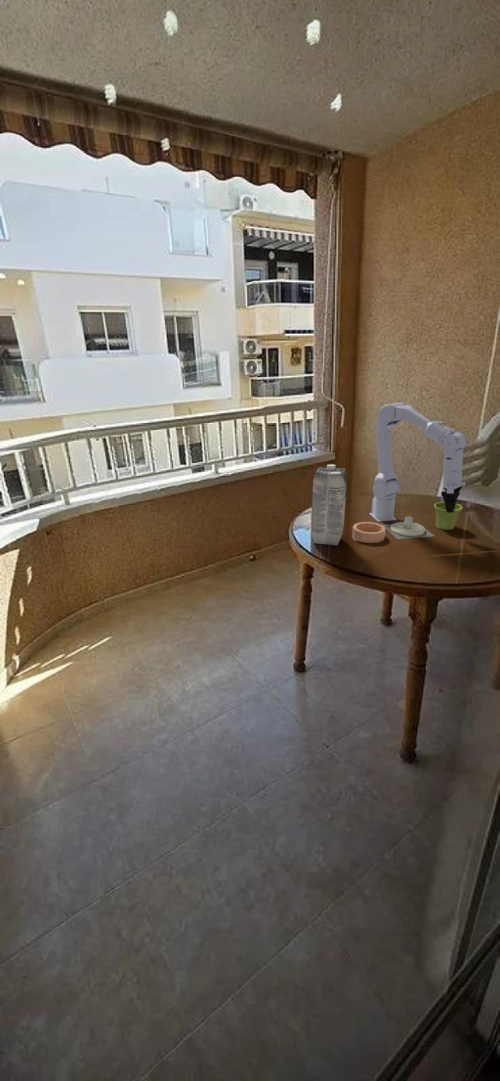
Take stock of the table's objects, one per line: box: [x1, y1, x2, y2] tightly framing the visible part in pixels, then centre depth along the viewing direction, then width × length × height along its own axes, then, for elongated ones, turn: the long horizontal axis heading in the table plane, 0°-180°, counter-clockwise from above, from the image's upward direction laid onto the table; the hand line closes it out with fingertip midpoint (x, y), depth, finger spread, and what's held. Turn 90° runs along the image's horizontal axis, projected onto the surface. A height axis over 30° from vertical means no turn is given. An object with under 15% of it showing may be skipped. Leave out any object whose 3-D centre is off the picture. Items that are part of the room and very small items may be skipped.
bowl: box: [351, 521, 387, 544], centre depth 155 cm, size 11×11×4 cm
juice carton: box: [311, 464, 347, 546], centre depth 149 cm, size 9×10×27 cm
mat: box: [382, 521, 435, 540], centre depth 160 cm, size 14×14×1 cm
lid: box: [390, 515, 426, 537], centre depth 159 cm, size 12×12×5 cm
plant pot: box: [433, 501, 463, 531], centre depth 161 cm, size 9×9×9 cm
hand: (450, 509), depth 150 cm, fingers open, 7 cm apart
